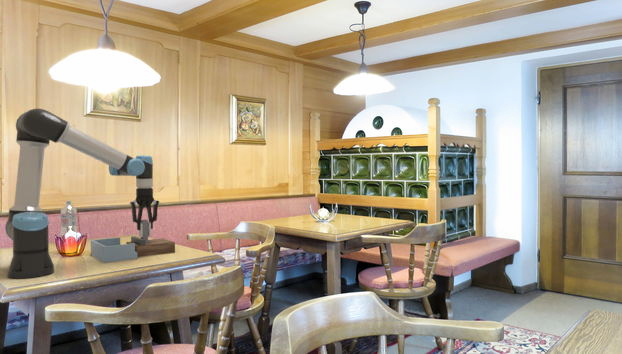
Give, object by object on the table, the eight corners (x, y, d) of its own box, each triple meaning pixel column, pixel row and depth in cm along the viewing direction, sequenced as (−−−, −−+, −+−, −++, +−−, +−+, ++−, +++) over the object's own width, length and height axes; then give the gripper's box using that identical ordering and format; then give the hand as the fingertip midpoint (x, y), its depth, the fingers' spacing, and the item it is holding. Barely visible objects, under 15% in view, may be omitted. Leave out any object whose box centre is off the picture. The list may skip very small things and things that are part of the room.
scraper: (153, 244, 209) (153, 221, 209) (140, 245, 206) (140, 221, 205) (143, 240, 221) (143, 218, 221) (131, 241, 217) (130, 219, 217)
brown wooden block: (175, 252, 215) (174, 242, 215) (136, 257, 204) (136, 246, 204) (163, 248, 228) (163, 238, 228) (126, 252, 216) (126, 242, 216)
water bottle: (59, 253, 215) (58, 201, 215) (74, 251, 220) (73, 200, 220) (64, 254, 211) (63, 202, 210) (79, 252, 216) (78, 201, 215)
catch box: (137, 258, 200) (137, 243, 200) (103, 263, 192) (103, 246, 191) (121, 251, 219) (121, 237, 219) (90, 254, 210) (90, 240, 210)
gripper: (158, 187, 222) (159, 234, 222) (124, 187, 212) (125, 237, 212) (164, 187, 216) (164, 235, 216) (129, 188, 206) (129, 239, 206)
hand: (145, 236), depth 214 cm, fingers open, 3 cm apart
